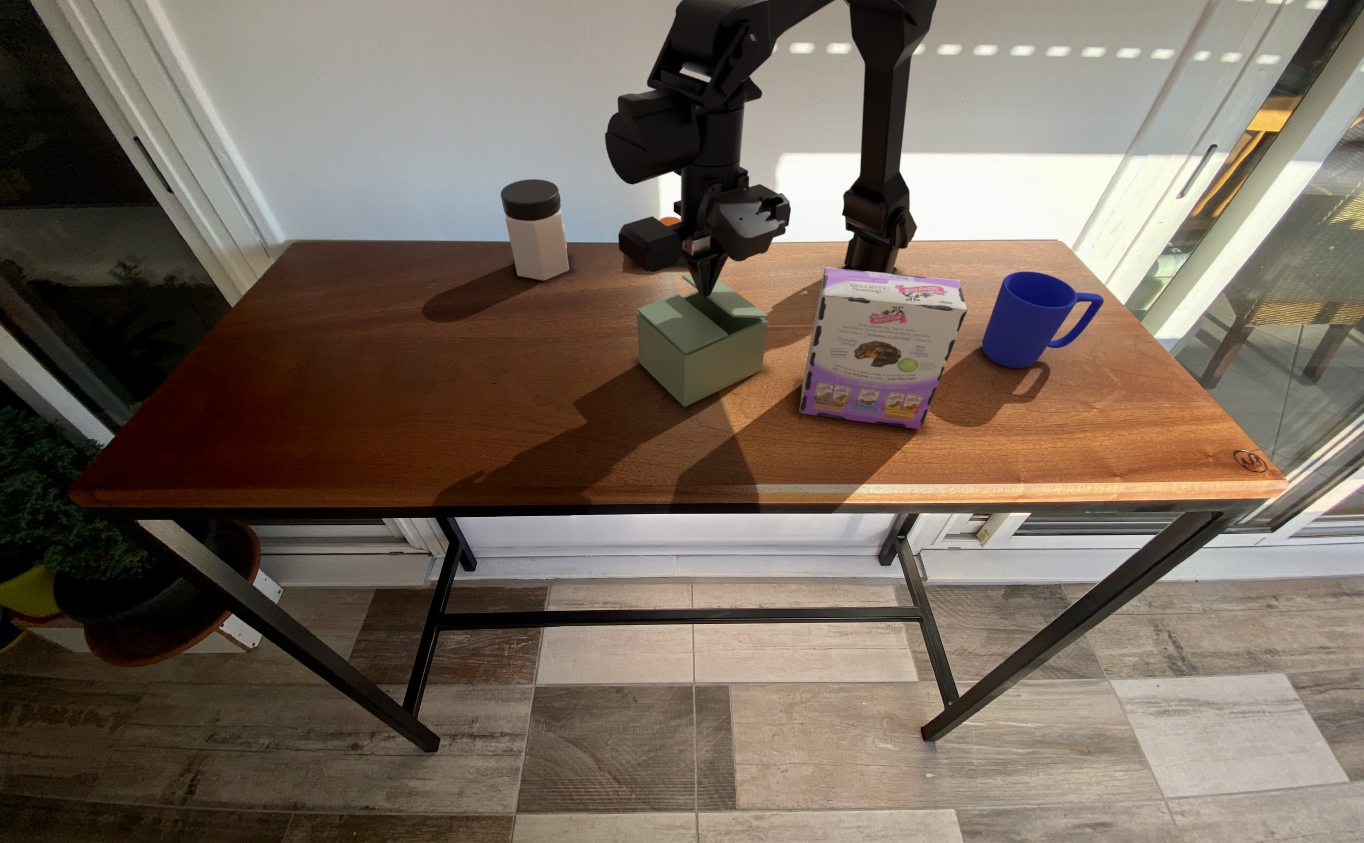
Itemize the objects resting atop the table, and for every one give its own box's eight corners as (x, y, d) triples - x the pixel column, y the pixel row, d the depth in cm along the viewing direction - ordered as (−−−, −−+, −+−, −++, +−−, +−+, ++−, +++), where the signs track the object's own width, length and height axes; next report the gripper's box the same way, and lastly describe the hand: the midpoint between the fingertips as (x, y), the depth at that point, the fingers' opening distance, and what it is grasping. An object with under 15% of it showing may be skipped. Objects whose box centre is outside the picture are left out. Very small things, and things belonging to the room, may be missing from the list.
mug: (1082, 377, 75) (1125, 309, 68) (986, 375, 75) (1018, 308, 68) (1055, 337, 80) (1091, 271, 73) (965, 335, 81) (993, 270, 73)
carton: (714, 331, 81) (717, 278, 75) (762, 370, 75) (769, 316, 69) (639, 363, 76) (636, 309, 70) (684, 407, 70) (685, 352, 64)
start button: (681, 227, 94) (681, 216, 93) (681, 238, 92) (682, 227, 91) (658, 227, 94) (658, 216, 93) (658, 238, 92) (658, 227, 91)
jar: (572, 278, 90) (561, 201, 82) (517, 284, 89) (500, 207, 80) (567, 249, 96) (556, 175, 88) (515, 254, 95) (500, 180, 87)
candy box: (916, 398, 72) (963, 277, 60) (920, 432, 68) (970, 310, 56) (801, 382, 74) (824, 262, 62) (798, 414, 69) (822, 293, 58)
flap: (716, 280, 75) (717, 278, 75) (767, 318, 70) (768, 315, 69) (681, 277, 71) (682, 275, 71) (732, 317, 66) (733, 314, 66)
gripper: (678, 211, 49) (677, 360, 60) (840, 162, 57) (813, 302, 67) (610, 166, 55) (620, 308, 66) (763, 128, 63) (750, 260, 74)
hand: (704, 295), depth 68 cm, fingers closed
